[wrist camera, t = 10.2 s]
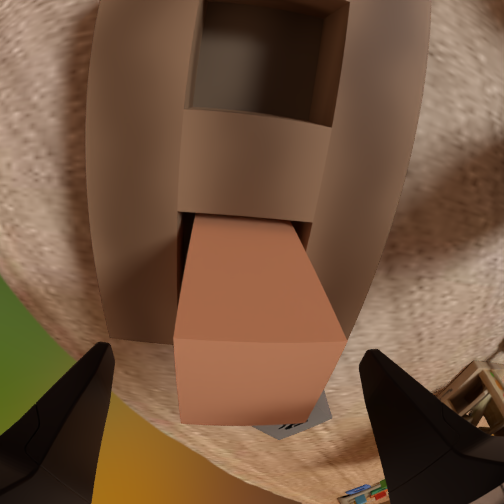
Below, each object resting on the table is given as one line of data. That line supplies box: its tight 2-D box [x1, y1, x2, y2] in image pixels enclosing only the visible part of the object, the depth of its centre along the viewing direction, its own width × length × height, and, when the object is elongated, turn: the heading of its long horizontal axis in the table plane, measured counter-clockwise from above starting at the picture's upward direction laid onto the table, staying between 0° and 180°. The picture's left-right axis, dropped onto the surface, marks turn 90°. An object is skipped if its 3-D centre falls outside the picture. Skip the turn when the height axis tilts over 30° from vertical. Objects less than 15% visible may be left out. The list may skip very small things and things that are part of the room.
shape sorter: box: [338, 479, 388, 504], centre depth 62 cm, size 34×19×5 cm, turn 18°
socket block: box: [85, 0, 431, 345], centre depth 13 cm, size 14×20×4 cm
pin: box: [173, 213, 347, 426], centre depth 13 cm, size 4×4×10 cm
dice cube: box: [252, 390, 332, 440], centre depth 22 cm, size 5×5×5 cm
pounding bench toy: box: [437, 361, 504, 437], centre depth 24 cm, size 23×14×18 cm, turn 155°
